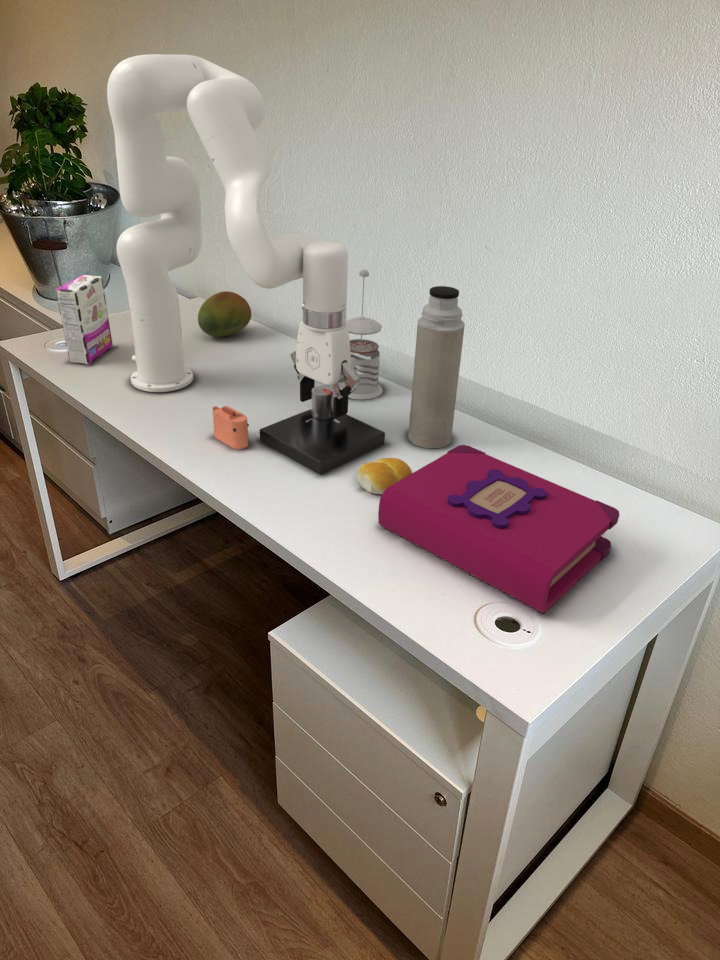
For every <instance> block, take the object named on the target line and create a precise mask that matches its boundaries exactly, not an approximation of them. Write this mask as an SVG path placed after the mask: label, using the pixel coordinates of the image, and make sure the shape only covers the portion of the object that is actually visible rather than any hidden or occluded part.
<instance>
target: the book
mask: <svg viewBox="0 0 720 960" xmlns="http://www.w3.org/2000/svg"><path fill="white" fill-rule="evenodd" d="M446 452H447V453H445V454H443V455H441V456H440V457H438V458H436V459H434V460H433V461H431V462H429V463H427V464H426V465H424V466H422V467H421V468H419V469H416V470H415V471H414V472H412V474H410V475H408V476H407V477H405V478H403V479H401V480H400V481H398V482H396V483H394V484H393V485H391V486H389V487H387V488H386V490H385V491H384V492H383V494H381V496H380V498H379V504H378V512H377V521H378V524H379V526H381V527H382V528H385V529H386V530H388V531H390V532H392V533H394V534H396V535H397V536H399V537H400V538H401V537H402V538H403V539H405V540H406V541H408V542H410V543H412V544H414V545H416V546H418V547H420V548H421V549H423V550H425V551H427V552H429V553H430V554H433V555H434V556H436V557H438V558H440V559H442V560H444V561H446V562H447V563H449V564H451V565H453V566H454V567H457V568H458V569H460V570H462V571H463V572H465V573H467V574H470V575H471V576H473V577H475V578H477V579H478V580H480V581H482V582H484V583H486V584H488V585H490V586H491V587H493V588H496V589H497V590H498V591H501V592H503V593H505V594H506V595H509V596H511V598H514V599H516V600H518V601H519V602H521V603H523V604H525V605H527V606H529V607H530V608H532V609H534V610H536V611H538V612H540V613H541V614H546V613H547V612H548V611H549V610H550V609H551V608H552V607H553V606H554V605H555V604H556V603H558V601H559V600H560V599H561V598H563V597H564V596H565V595H566V594H567V593H568V592H569V591H570V590H571V589H572V588H573V587H574V586H575V585H576V584H577V583H578V582H579V581H580V580H582V579H583V578H584V577H585V576H586V575H587V574H588V573H589V572H590V571H591V570H592V569H593V568H594V567H595V566H596V565H597V564H598V563H600V562H602V561H603V560H605V558H607V557H608V556H609V554H610V551H611V548H612V542H611V541H610V540H609V539H608V538H606V537H604V536H603V535H604V534H605V533H607V531H608V530H611V529H612V528H614V527H615V526H616V525H617V524H618V523H619V518H620V511H619V510H618V509H617V508H616V507H613V506H611V505H609V504H607V503H604V502H602V501H599V500H597V499H596V500H595V499H593V498H590V497H587V496H585V495H584V494H583V495H582V494H581V493H578V492H576V491H574V490H572V489H569V488H567V487H564V486H561V485H559V484H557V483H555V482H552V481H550V480H548V479H545V478H543V477H540V476H538V475H536V474H534V473H532V472H530V471H527V470H524V469H522V468H520V467H517V466H515V465H513V464H510V463H507V462H505V461H503V460H501V459H498V458H496V457H494V456H491V455H489V454H487V453H486V452H485V451H482V450H480V449H478V448H475V447H473V446H470V445H467V444H459V445H457V446H455V447H453V448H451V449H450V450H448V451H446Z"/></svg>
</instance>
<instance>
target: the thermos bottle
mask: <svg viewBox="0 0 720 960" xmlns="http://www.w3.org/2000/svg"><path fill="white" fill-rule="evenodd" d="M429 295H430V296H429V297H428V303H427V304H426V305H424V306H423V308H422V312H421V317H419V318H418V319H417V324H416V325H417V327H416V339H415V349H414V361H413V374H412V385H411V399H410V408H409V409H410V410H409V422H408V434H407V438H408V440H409V442H411V443H412V444H413V445H415V446H417V447H421V448H424V449H440V448H444V447H447V446H449V444H451V442H452V436H453V428H454V419H455V411H456V401H457V395H458V394H457V393H458V385H459V376H460V368H461V367H460V366H461V360H462V350H463V344H464V343H463V342H464V335H465V325H466V324H465V321H463V320H462V317H464V315H463V310H462V308H461V307H460V306H459V298H458V297H459V296H460V290H459V289H457V288H455V287H452V286H446V285H438V286H437V285H436V286H432V287H431V288H429Z"/></svg>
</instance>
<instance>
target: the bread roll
mask: <svg viewBox="0 0 720 960" xmlns="http://www.w3.org/2000/svg"><path fill="white" fill-rule="evenodd" d="M412 473H413V472H412V469H411V467H410V465H408V463H406V462H405V461H404V460H402V459H400V458H398V457H382V458H379V459H377V460H375V461H368V462H365V463H363V464H362V465H361V466H360V467H359V468H358V471H357V474H356V477H357V479H356V480H357V483H358V484H359V485H360V486H361V487H362V489H364V490H365V491H367V492H368V493H370V494H374V495H382V494H383V492H384V491H385V490H386V488H387V487H389V486H391V485H393V484H394V483H396V482H398V481H400V480H401V479H403V478H405V477H407V476H408V475H410V474H412Z"/></svg>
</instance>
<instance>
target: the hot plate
mask: <svg viewBox="0 0 720 960" xmlns="http://www.w3.org/2000/svg"><path fill="white" fill-rule="evenodd" d="M306 408H307V410H303V411H302V412H300V413H297V414H295V415H292V416H290V417H286V418H284V419H282V420H280V421H277V422H275V423H272V424H269V425H266V426H264V427H261V428H259V430H258V431H259V442H260V443H261V444H264V445H265V446H267V447H269V448H271V449H273V450H275V451H276V452H277V453H280V454H283V455H284V456H285V457H287V458H290V459H291V460H293V461H294V462H296V463H298V464H301V466H304V467H305V468H307V469H309V470H311V471H313V472H315V473H317V474H318V475H320V476H322V475H324V474H326V473H328V472H330V471H332V470H334V469H336V468H339V467H341V466H343V465H344V464H347V463H348V462H351V461H353V460H355V459H357V458H359V457H361V456H363V455H366V454H368V453H370V452H371V451H374V450H376V449H378V448H380V447H382V446H385V443H386V432H385V431H383V430H380V429H379V428H377V427H374V426H373V425H370V424H368V423H367V422H364V421H362V420H359V419H358V418H355V417H354V416H351V415H349V414H348V413H347V414H345V415H343V416H340V417H338V418H335V417H333V418H332V419H328V420H319V419H316V418H314V417H313V416H312V406H307V407H306Z"/></svg>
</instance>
